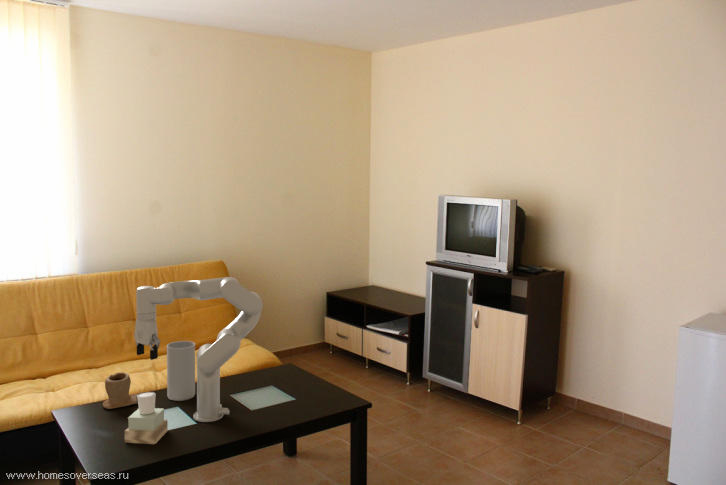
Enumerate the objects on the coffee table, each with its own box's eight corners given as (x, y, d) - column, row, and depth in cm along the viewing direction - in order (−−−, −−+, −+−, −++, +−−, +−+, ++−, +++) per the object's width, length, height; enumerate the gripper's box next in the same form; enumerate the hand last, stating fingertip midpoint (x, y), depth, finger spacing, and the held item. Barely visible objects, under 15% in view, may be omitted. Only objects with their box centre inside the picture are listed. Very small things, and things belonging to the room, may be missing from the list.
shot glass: (151, 415, 221) (150, 397, 220) (134, 415, 221) (133, 397, 221) (159, 409, 228) (158, 391, 227) (142, 408, 228) (141, 391, 228)
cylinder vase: (191, 390, 277) (191, 339, 275) (198, 398, 266) (198, 346, 264) (164, 394, 270) (164, 343, 268) (170, 403, 260) (170, 349, 257)
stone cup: (105, 413, 246) (104, 380, 245) (101, 404, 256) (100, 372, 255) (142, 407, 254) (141, 374, 253) (137, 398, 264) (136, 367, 263)
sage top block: (164, 420, 229) (164, 408, 229) (154, 430, 219) (154, 418, 219) (139, 419, 230) (139, 407, 229) (128, 429, 220) (128, 417, 219)
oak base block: (167, 431, 230) (167, 419, 230) (155, 444, 219) (155, 432, 218) (138, 430, 231) (138, 418, 231) (124, 443, 219) (124, 430, 219)
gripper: (126, 314, 237) (127, 354, 238) (150, 321, 226) (150, 363, 228) (142, 311, 243) (143, 350, 244) (166, 317, 232) (167, 358, 234)
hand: (147, 356), depth 236 cm, fingers open, 9 cm apart
